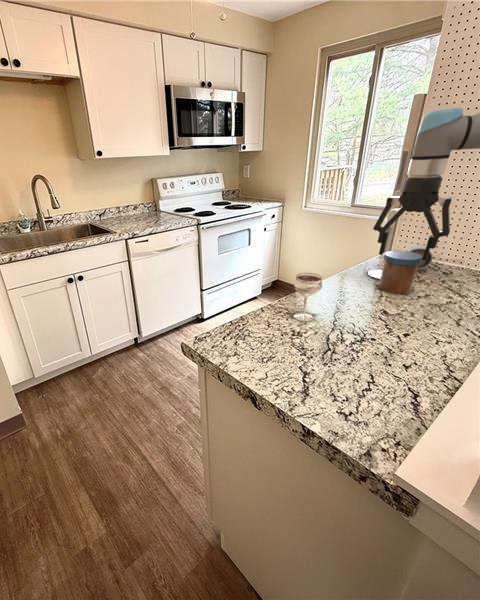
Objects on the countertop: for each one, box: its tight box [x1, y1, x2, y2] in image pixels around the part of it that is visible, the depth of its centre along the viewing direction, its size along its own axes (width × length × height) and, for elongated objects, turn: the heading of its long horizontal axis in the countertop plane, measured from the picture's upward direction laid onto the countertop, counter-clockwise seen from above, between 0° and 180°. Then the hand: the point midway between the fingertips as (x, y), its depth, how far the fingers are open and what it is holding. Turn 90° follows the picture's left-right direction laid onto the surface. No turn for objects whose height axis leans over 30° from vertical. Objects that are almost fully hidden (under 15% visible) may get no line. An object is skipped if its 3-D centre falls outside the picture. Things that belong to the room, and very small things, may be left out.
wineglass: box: [293, 272, 324, 322], centre depth 84 cm, size 7×7×12 cm
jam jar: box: [377, 261, 418, 295], centre depth 94 cm, size 8×8×10 cm
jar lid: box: [383, 250, 422, 266], centre depth 92 cm, size 9×9×2 cm
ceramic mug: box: [405, 244, 434, 271], centre depth 110 cm, size 11×8×8 cm
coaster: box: [367, 269, 383, 281], centre depth 106 cm, size 10×10×1 cm
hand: (402, 256), depth 92 cm, fingers open, 10 cm apart
